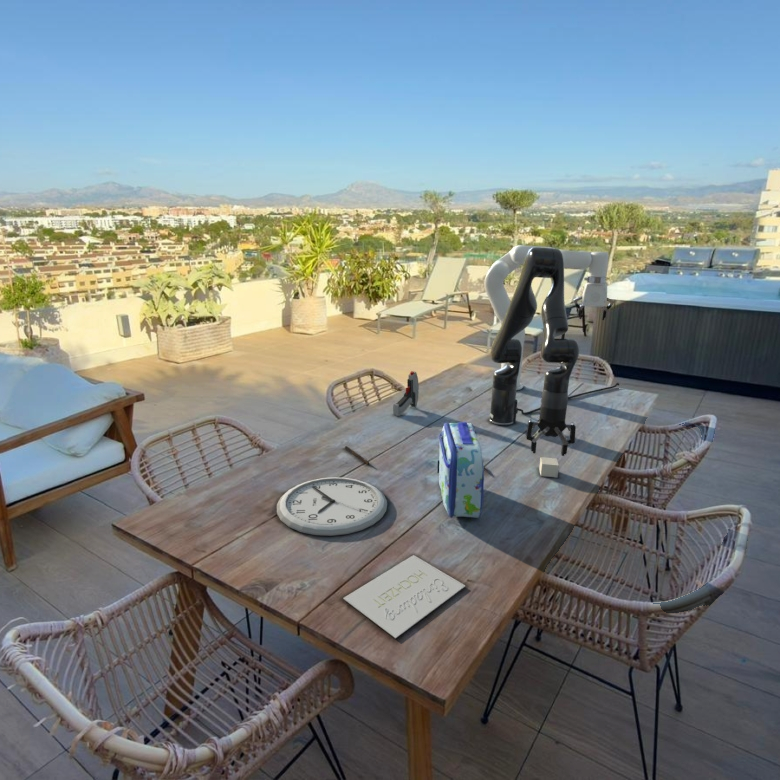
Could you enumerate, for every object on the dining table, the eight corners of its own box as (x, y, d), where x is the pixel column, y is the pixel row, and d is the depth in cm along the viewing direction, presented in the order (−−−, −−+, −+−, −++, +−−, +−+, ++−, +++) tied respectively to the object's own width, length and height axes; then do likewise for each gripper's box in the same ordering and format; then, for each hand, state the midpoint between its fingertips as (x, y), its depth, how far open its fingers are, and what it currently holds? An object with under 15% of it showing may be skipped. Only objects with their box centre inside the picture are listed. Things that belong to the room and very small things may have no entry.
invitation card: (413, 554, 121) (465, 585, 111) (413, 555, 121) (465, 586, 111) (343, 597, 107) (395, 637, 97) (343, 598, 107) (395, 638, 97)
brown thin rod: (344, 448, 179) (344, 445, 179) (346, 448, 179) (346, 445, 179) (367, 464, 167) (367, 462, 167) (368, 464, 167) (368, 461, 167)
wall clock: (392, 527, 129) (268, 531, 127) (391, 533, 130) (269, 537, 127) (383, 473, 158) (282, 475, 155) (383, 478, 158) (282, 480, 156)
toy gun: (392, 379, 206) (413, 369, 217) (393, 417, 212) (414, 405, 223) (397, 380, 205) (418, 370, 216) (398, 418, 210) (418, 406, 222)
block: (540, 476, 162) (542, 463, 161) (539, 469, 167) (540, 457, 165) (557, 477, 161) (558, 465, 160) (555, 470, 166) (556, 458, 165)
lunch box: (435, 478, 159) (438, 413, 153) (470, 478, 159) (475, 414, 153) (442, 524, 134) (446, 449, 128) (484, 525, 134) (490, 450, 128)
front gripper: (530, 406, 155) (525, 456, 160) (580, 409, 152) (574, 460, 157) (528, 398, 162) (524, 447, 167) (576, 402, 159) (570, 451, 164)
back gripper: (577, 280, 229) (572, 319, 234) (619, 282, 226) (613, 321, 231) (574, 279, 236) (570, 316, 241) (615, 280, 233) (609, 318, 238)
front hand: (548, 453), depth 162 cm, fingers open, 8 cm apart
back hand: (591, 319), depth 236 cm, fingers open, 9 cm apart
